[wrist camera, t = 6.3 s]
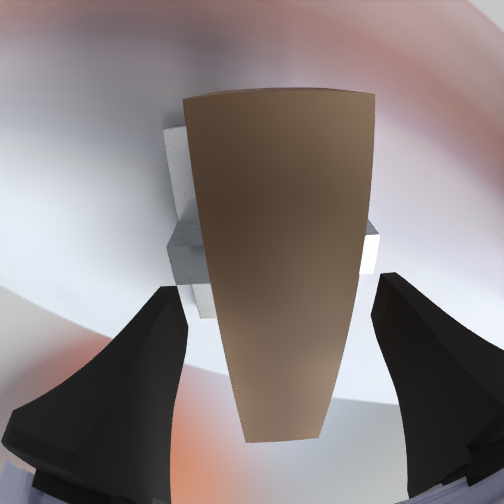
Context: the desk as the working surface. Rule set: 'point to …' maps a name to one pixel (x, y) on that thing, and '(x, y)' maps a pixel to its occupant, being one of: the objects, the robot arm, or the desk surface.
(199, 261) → the balance stand
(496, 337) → the desk surface
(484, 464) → the robot arm
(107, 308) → the desk surface
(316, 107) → the walnut rod
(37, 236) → the desk surface
